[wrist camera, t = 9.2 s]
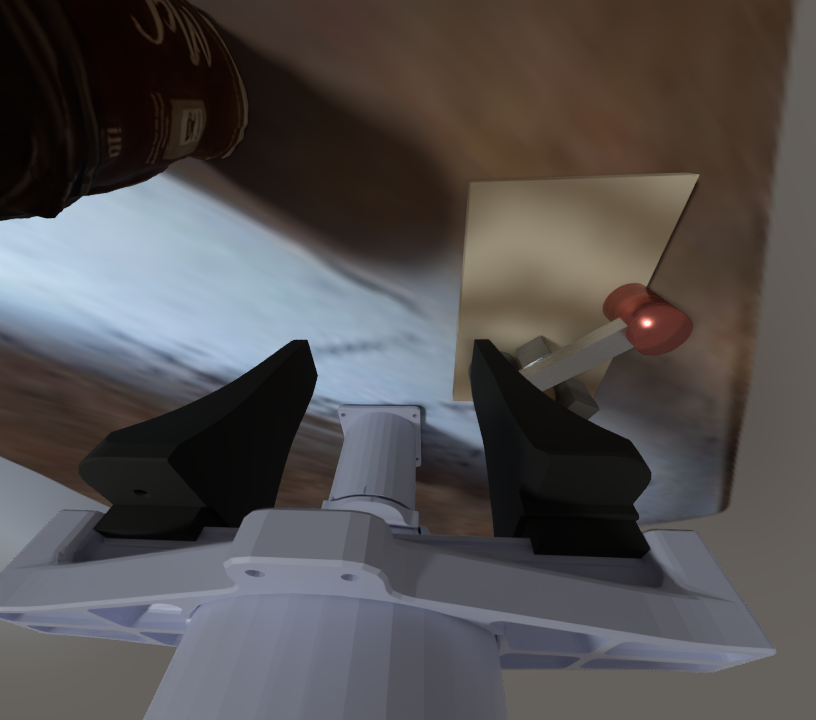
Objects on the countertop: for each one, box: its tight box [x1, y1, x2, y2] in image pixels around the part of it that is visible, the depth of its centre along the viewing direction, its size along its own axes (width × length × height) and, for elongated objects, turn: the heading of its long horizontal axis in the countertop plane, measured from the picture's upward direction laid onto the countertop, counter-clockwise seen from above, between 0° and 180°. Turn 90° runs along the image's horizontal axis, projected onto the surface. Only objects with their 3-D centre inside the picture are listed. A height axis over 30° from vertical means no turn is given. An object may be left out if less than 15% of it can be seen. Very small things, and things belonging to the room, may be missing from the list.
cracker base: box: [453, 173, 699, 420], centre depth 21 cm, size 18×12×4 cm, turn 2°
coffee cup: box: [0, 0, 248, 221], centre depth 10 cm, size 9×8×13 cm
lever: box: [515, 283, 693, 391], centre depth 21 cm, size 13×3×4 cm, turn 131°
